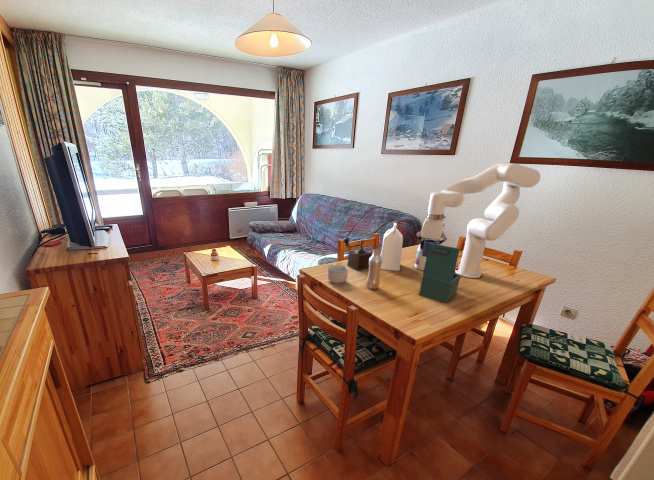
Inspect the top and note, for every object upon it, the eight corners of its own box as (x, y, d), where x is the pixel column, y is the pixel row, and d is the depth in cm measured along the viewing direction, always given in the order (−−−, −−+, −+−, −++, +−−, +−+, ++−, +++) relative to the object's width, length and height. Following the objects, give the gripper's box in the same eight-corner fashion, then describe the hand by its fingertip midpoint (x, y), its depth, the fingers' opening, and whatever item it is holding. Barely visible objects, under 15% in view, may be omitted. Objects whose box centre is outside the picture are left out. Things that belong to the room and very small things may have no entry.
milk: (399, 270, 180) (406, 227, 170) (378, 268, 184) (384, 225, 174) (399, 264, 191) (405, 222, 181) (379, 262, 194) (385, 221, 184)
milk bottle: (429, 267, 186) (435, 235, 178) (426, 271, 180) (433, 237, 172) (415, 265, 190) (421, 233, 182) (412, 268, 184) (418, 236, 176)
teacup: (346, 286, 160) (348, 271, 157) (325, 284, 162) (326, 270, 159) (346, 276, 172) (348, 263, 169) (327, 275, 174) (328, 261, 171)
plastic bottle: (378, 286, 160) (384, 249, 152) (378, 291, 154) (383, 253, 146) (366, 284, 162) (370, 247, 154) (365, 289, 156) (369, 251, 148)
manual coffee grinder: (360, 262, 194) (363, 234, 187) (371, 268, 185) (375, 238, 178) (339, 266, 188) (341, 237, 181) (350, 272, 179) (353, 241, 172)
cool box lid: (429, 243, 141) (425, 245, 137) (460, 248, 133) (456, 250, 129) (423, 275, 147) (418, 277, 143) (451, 282, 139) (448, 285, 135)
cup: (426, 252, 172) (428, 238, 169) (437, 255, 166) (440, 241, 163) (418, 255, 169) (421, 240, 165) (429, 258, 163) (432, 243, 160)
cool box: (429, 285, 160) (433, 268, 156) (456, 293, 152) (460, 274, 148) (419, 294, 150) (422, 276, 147) (446, 302, 142) (451, 283, 139)
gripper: (455, 217, 156) (448, 251, 163) (420, 214, 167) (415, 245, 174) (450, 220, 151) (443, 255, 158) (415, 216, 162) (410, 248, 169)
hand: (429, 249), depth 166 cm, fingers closed on cup, 6 cm apart
